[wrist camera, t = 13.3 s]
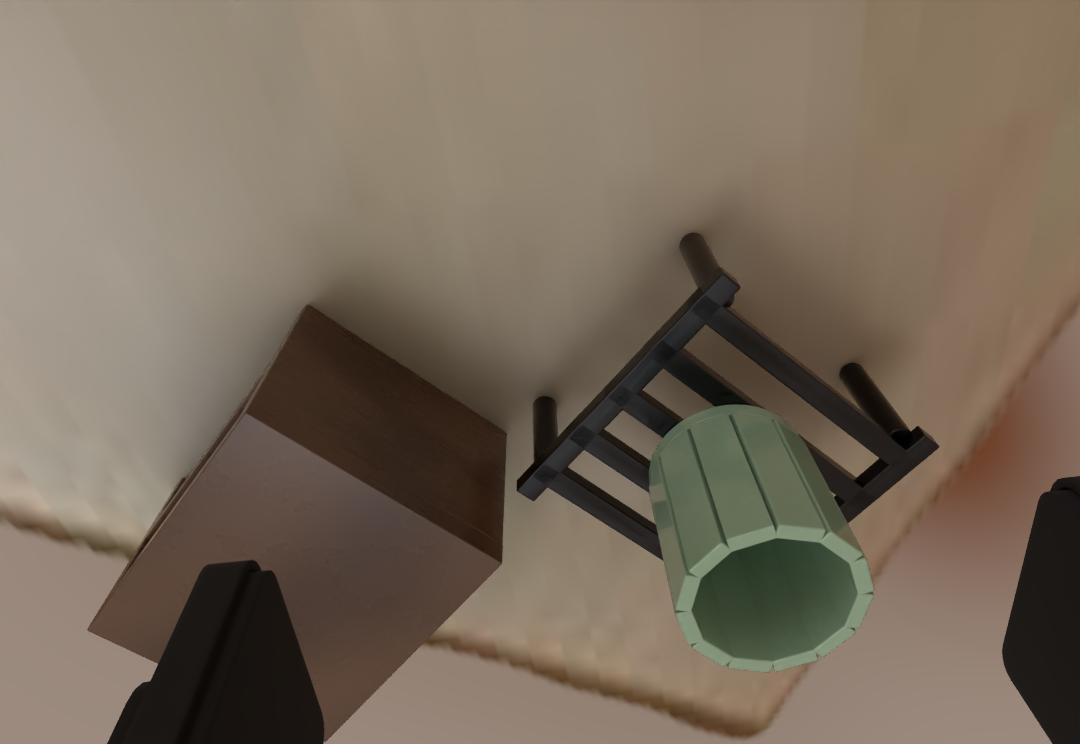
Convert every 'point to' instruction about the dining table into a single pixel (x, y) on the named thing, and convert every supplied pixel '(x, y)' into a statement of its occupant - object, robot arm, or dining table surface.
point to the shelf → (330, 513)
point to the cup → (754, 542)
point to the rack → (665, 350)
